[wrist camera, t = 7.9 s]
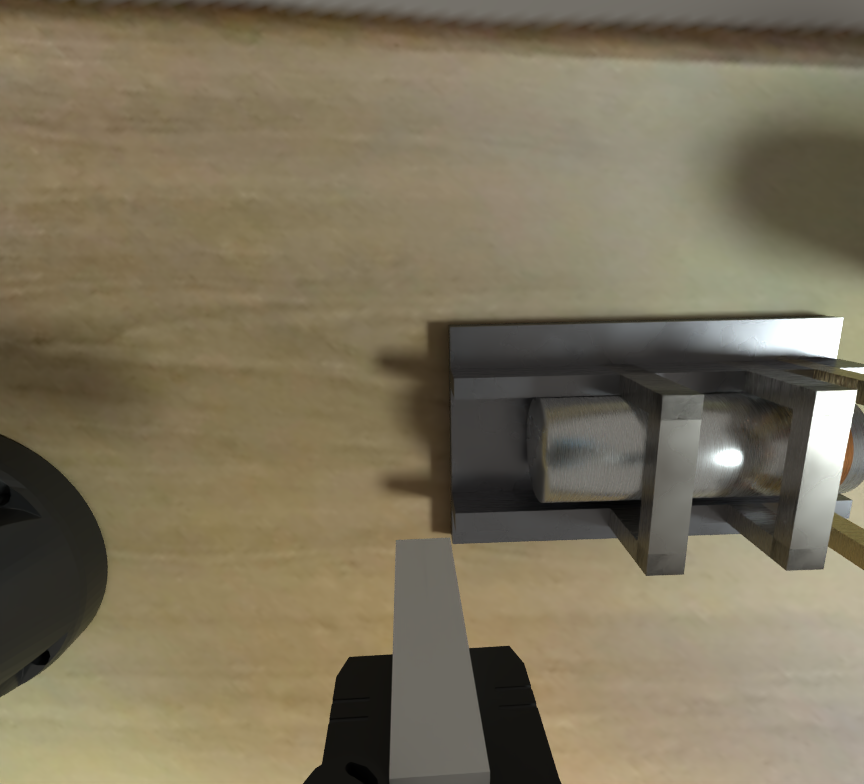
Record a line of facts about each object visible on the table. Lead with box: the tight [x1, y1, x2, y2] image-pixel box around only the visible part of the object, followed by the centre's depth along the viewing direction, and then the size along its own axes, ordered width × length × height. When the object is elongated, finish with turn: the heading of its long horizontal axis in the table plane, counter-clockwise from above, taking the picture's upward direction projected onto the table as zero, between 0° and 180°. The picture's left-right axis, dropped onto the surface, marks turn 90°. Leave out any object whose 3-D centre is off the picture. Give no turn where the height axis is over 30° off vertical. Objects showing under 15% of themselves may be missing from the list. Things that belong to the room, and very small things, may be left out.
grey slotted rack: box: [449, 316, 864, 576], centre depth 23 cm, size 20×12×8 cm, turn 91°
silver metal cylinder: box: [527, 392, 864, 503], centre depth 24 cm, size 14×5×5 cm, turn 91°
